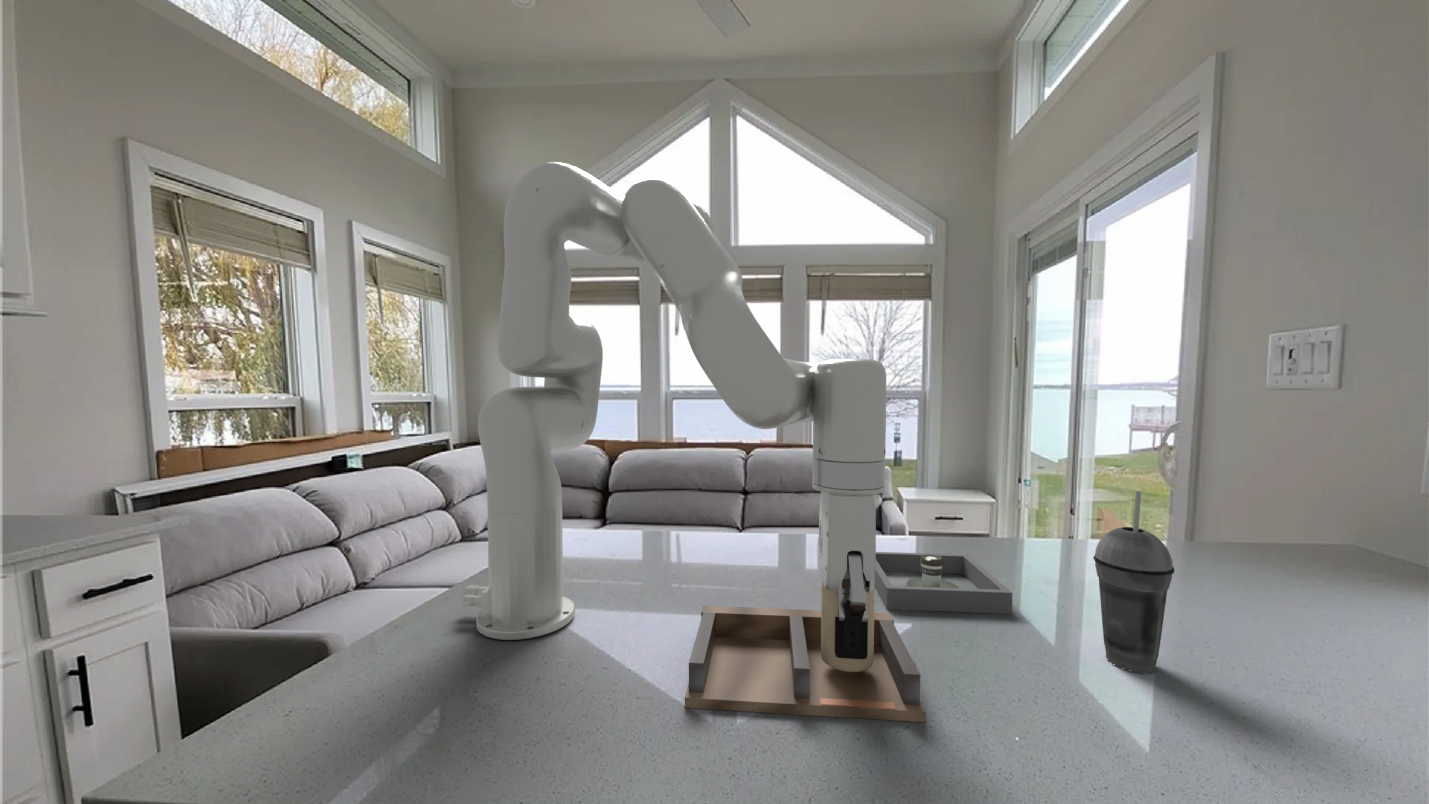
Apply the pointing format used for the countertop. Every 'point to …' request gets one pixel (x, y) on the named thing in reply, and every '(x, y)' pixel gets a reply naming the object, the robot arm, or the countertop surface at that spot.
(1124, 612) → the beverage cup
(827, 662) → the candle
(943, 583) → the coffee cup
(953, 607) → the grey shallow square tray
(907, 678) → the wooden divided tray
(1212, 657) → the countertop surface
